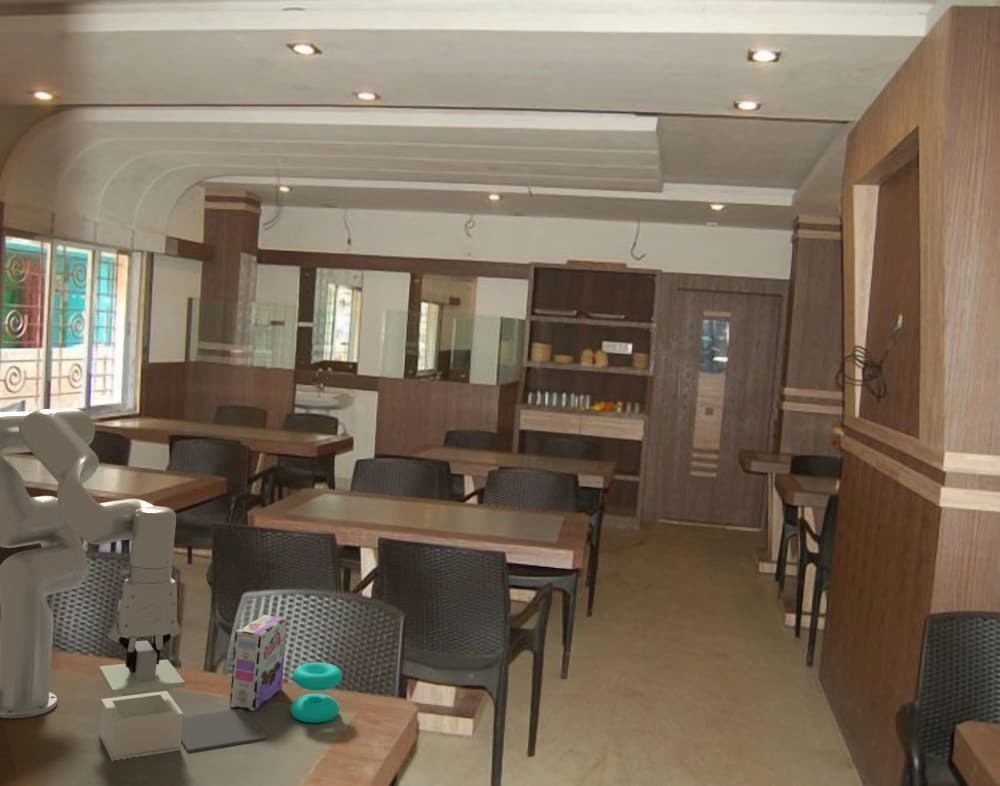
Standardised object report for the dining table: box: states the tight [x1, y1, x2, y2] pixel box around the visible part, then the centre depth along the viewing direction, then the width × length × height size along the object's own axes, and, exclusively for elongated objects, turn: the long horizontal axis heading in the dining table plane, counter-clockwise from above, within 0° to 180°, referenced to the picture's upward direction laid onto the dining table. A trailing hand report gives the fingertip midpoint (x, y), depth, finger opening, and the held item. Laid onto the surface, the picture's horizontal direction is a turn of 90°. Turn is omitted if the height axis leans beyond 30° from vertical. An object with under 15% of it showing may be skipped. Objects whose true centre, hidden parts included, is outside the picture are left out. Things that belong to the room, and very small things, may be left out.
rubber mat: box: [181, 708, 268, 753], centre depth 184 cm, size 15×15×1 cm
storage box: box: [98, 691, 184, 762], centre depth 176 cm, size 12×12×7 cm
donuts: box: [290, 661, 343, 724], centre depth 195 cm, size 10×10×10 cm
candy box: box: [229, 614, 288, 712], centre depth 201 cm, size 14×6×16 cm, turn 168°
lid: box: [98, 640, 186, 697], centre depth 175 cm, size 13×13×7 cm
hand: (141, 668), depth 175 cm, fingers closed on lid, 3 cm apart
